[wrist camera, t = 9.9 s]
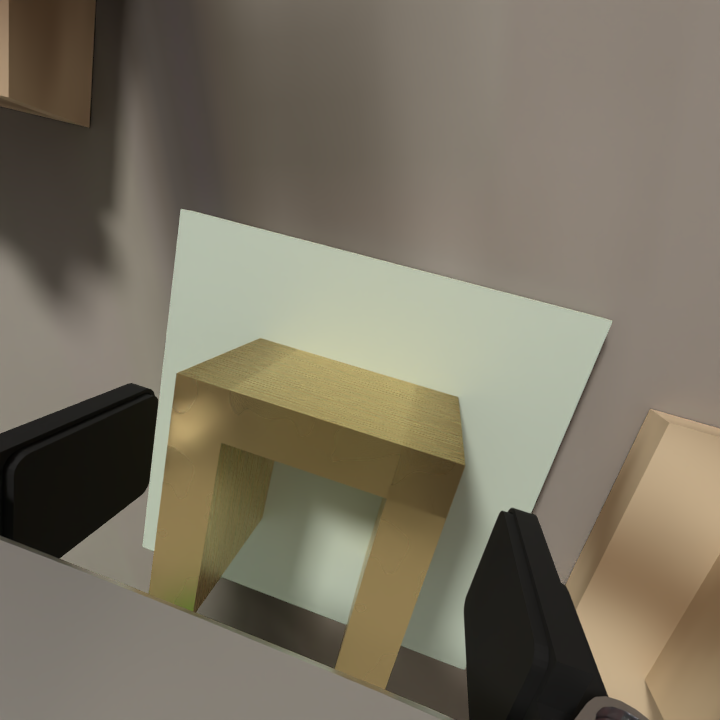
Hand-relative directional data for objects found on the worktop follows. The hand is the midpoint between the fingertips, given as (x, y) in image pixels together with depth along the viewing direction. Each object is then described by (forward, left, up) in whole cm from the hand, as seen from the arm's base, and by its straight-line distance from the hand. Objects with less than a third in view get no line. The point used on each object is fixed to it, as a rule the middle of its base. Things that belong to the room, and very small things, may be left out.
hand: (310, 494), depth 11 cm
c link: (0, 0, -2) cm, 2 cm away
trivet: (0, 0, -3) cm, 3 cm away
